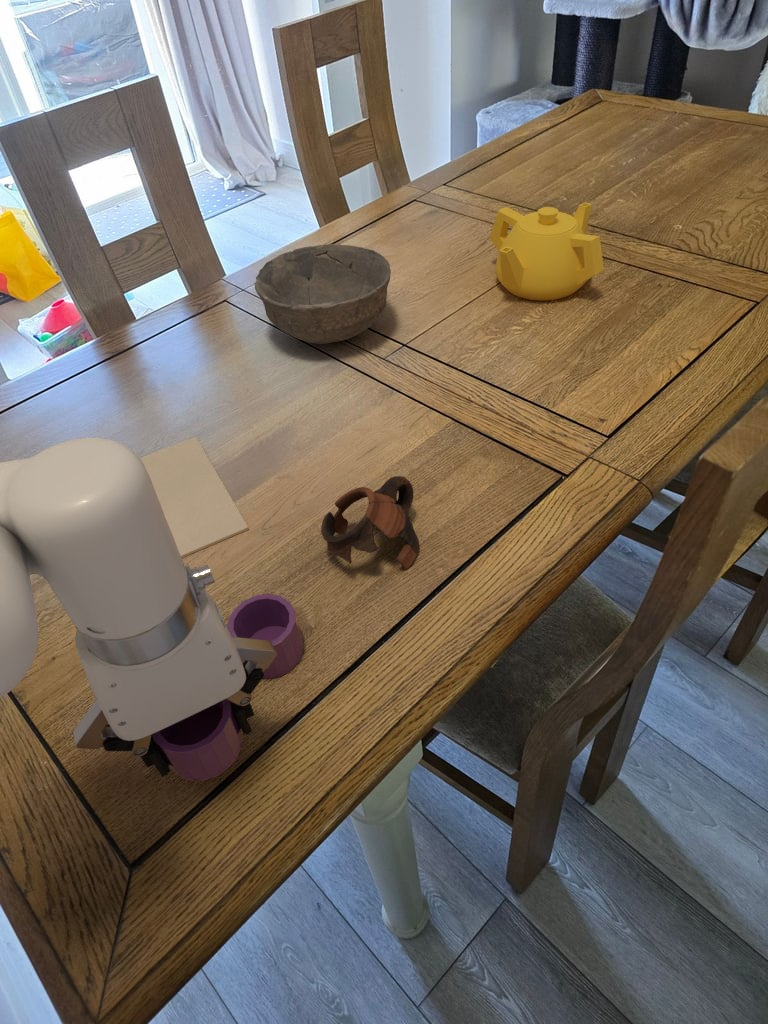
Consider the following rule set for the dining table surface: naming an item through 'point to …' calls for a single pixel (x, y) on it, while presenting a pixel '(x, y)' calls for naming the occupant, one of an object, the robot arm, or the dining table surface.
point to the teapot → (545, 252)
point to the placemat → (192, 497)
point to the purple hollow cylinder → (270, 629)
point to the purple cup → (202, 742)
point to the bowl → (324, 291)
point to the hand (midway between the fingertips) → (202, 739)
